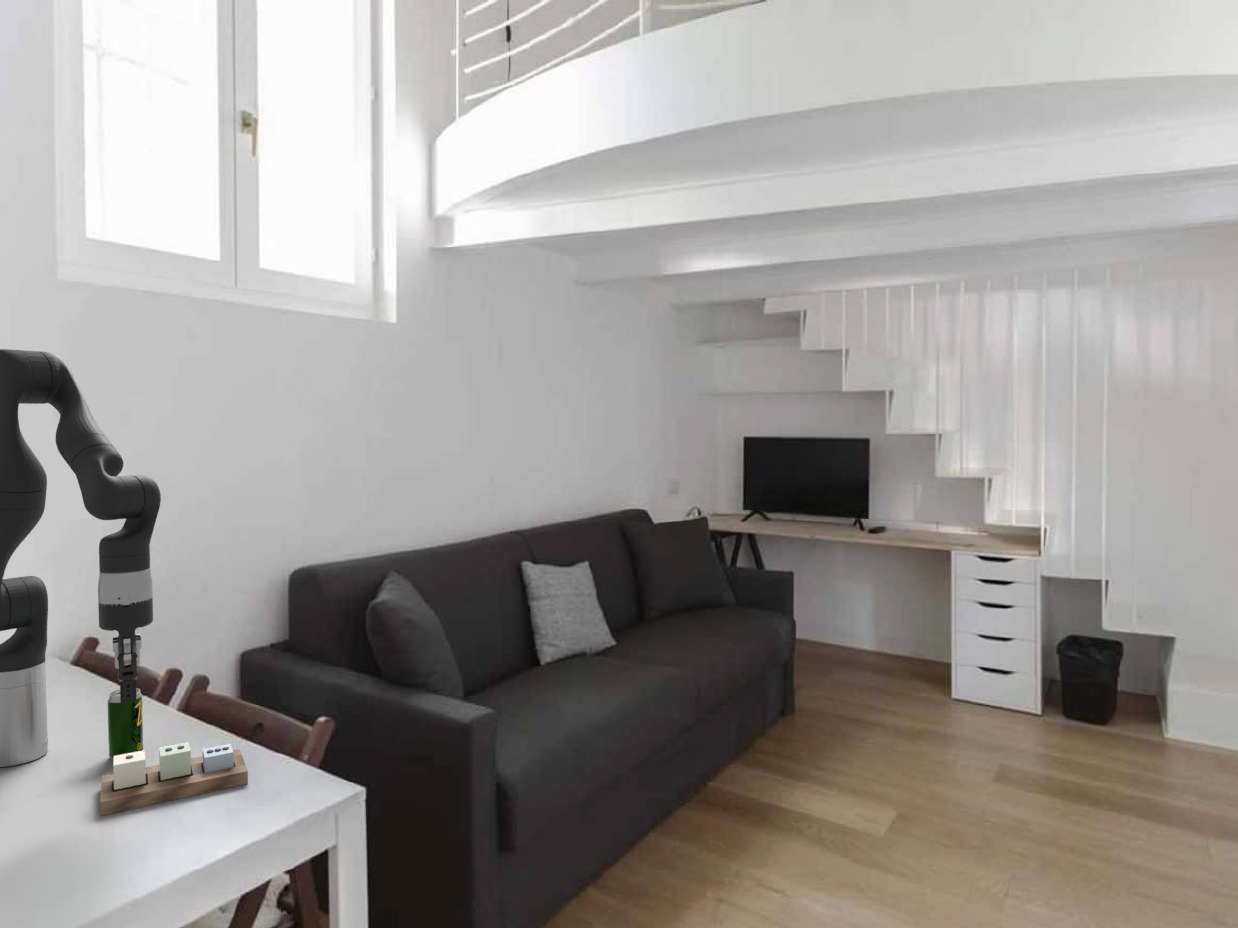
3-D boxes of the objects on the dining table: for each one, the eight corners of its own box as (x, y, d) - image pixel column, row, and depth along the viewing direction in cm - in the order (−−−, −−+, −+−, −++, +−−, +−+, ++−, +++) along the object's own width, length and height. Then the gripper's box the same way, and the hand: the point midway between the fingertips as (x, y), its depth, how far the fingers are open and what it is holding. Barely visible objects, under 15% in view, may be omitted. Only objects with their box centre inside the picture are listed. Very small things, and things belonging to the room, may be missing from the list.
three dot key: (205, 780, 132) (204, 756, 132) (202, 771, 136) (202, 747, 136) (233, 774, 135) (233, 750, 135) (230, 765, 138) (230, 742, 138)
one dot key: (114, 789, 125) (113, 764, 125) (114, 779, 129) (113, 754, 129) (145, 783, 128) (145, 758, 127) (145, 773, 131) (144, 748, 131)
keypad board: (100, 815, 122) (100, 802, 122) (102, 788, 131) (101, 775, 131) (247, 783, 133) (247, 770, 133) (239, 760, 142) (239, 748, 142)
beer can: (109, 764, 140) (107, 699, 140) (108, 754, 145) (107, 690, 144) (143, 757, 143) (142, 693, 143) (142, 747, 148) (141, 685, 147)
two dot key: (160, 780, 129) (160, 755, 129) (159, 770, 132) (159, 746, 132) (190, 773, 131) (190, 749, 131) (189, 764, 135) (188, 740, 135)
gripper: (99, 592, 131) (101, 694, 131) (97, 607, 120) (100, 718, 120) (151, 588, 135) (153, 686, 135) (154, 601, 124) (156, 709, 124)
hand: (128, 701), depth 128 cm, fingers closed
